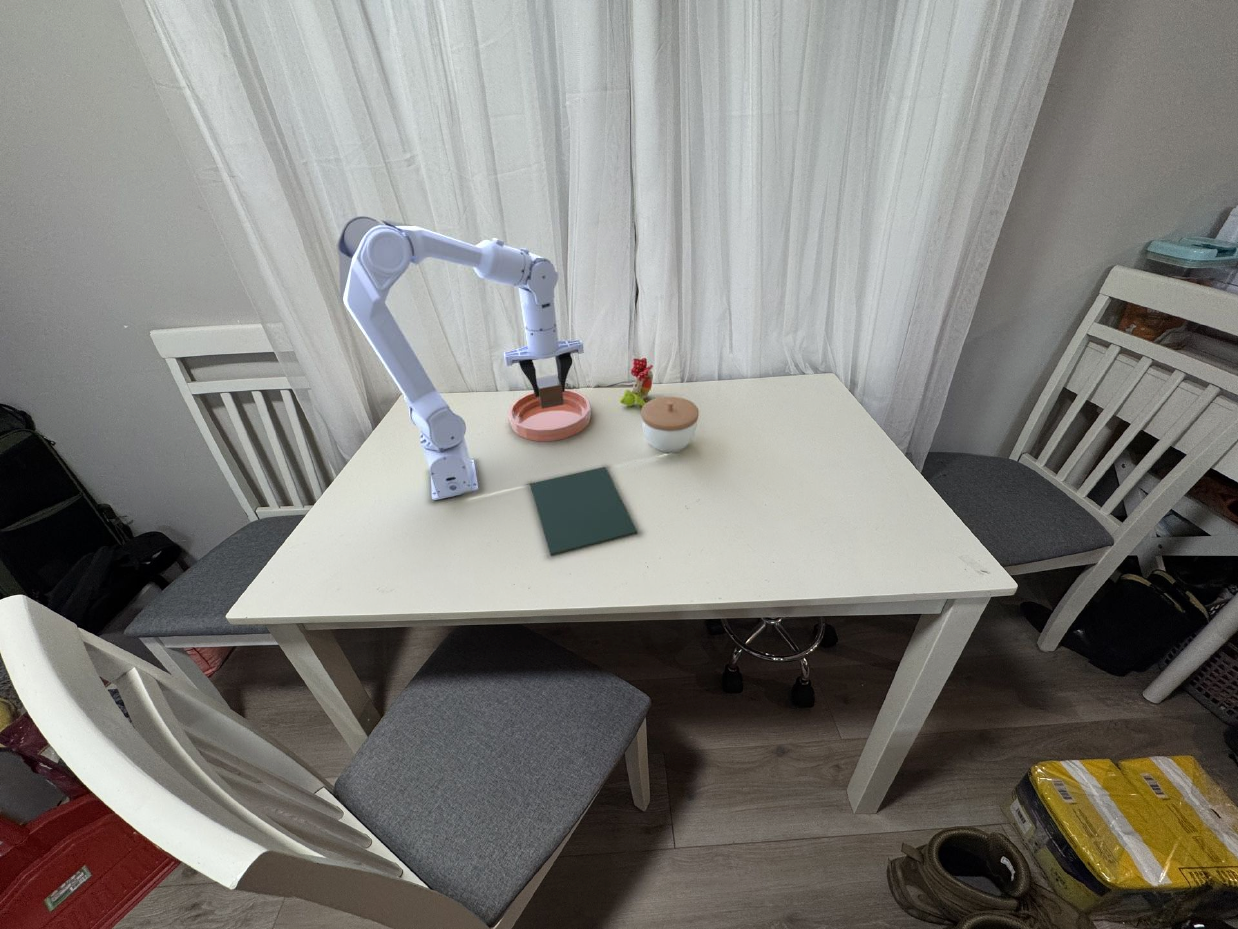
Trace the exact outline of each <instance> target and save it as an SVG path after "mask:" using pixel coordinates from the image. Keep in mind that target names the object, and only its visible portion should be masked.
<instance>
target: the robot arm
mask: <svg viewBox="0 0 1238 929" xmlns="http://www.w3.org/2000/svg"><path fill="white" fill-rule="evenodd" d="M381 222H382V223H380V222H379V221H378V220H377V219H374V218H372V217H369V216H366V215H359V216H355V217H353V218H351V219H349V220H348V221H347V222H346V223H345V224H344V225H343V228H342V231H341V232H340V235H339V238H338V240H337V242H336V250H337V255H338V261H339V262H338V263H339V264H338V265H339V295H340V299H341V301H342V303H343V304H344V306H345V307H346V309H347V311H348V312H349V314H350V315H351V317H352V318H353V320H354V321H355V323H356V324H357V326H358V327H359V329H360V330H361V333H362V334H363V335H364V336H365V338H366V340H367V341H368V343H369V345H370V346H371V348H372V349H373V351H374V352H375V353H376V355H377V357H378V358H379V359H380V361H381V362H382V365H383V366H384V367H385V369H386V371H387V372H388V373H389V375H390V376H391V379H392V380H393V381H394V383H395V384H396V386H397V387H398V389H399V391H400V392H401V394H402V395H403V396H404V402H405V403H406V405H407V407H408V415H409V419H410V421H411V422H412V424H413V425H414V426H416V427H417V428H418V429H419V431H420V434H419V442H420V444H421V448H422V451H423V454H424V457H425V460H426V463H427V466H428V469H429V475H430V487H431V500H432V501H439V500H443V499H448V498H451V497H455V496H460V495H462V494H465V493H470V492H474V491H477V490H479V483H478V477H477V472H476V471H477V470H476V465H475V464H476V463H475V460H474V459H471V456H470V454H469V450H468V446H467V443H466V437H465V435H466V432H467V425H466V421H465V419H464V418H463V417H462V416H461V415H459V414H457V413H456V412H455V411H453V409H451V407H450V406H449V404H448V402H447V401H445V399H444V398H443V396H442V395H441V393H439V392H438V389H436V387H435V385H434V383H433V382H432V381H431V379H430V376H429V375H428V373H427V372H426V370H425V368H424V367H423V365H422V362H421V361H420V360H419V358H418V356H417V355H416V353H415V352H414V350H413V348H412V346H411V345H410V342H408V340H407V337H406V336H405V334H404V333H403V331H402V329H401V328H400V326H399V324H398V323H397V321H396V319H395V317H394V316H393V314H392V313H391V311H390V308H389V307H388V306H387V303H386V300H387V297H388V296H389V293H390V291H391V289H392V287H393V286H394V285H395V284H396V282H398V281H399V279H400V278H401V277H402V276H403V275H404V273H405V272H406V271H407V270H408V268H409V266H410V264H413V265H415V266H418V265H419V264H421V263H422V262H424V261H425V260H426V259H427V258H432V259H436V260H441V261H445V262H450V263H454V264H458V265H463V266H466V267H467V266H468V267H471V268H472V269H473V270H474V271H475V273H476V275H477V276H478V277H479V278H480V279H483V280H487V281H490V282H491V281H492V282H495V283H499V284H503V285H507V286H511V287H518V293H519V300H520V305H521V312H522V319H523V325H524V333H525V340H526V345H525V346H522V347H519V348H516V349H512V350H509V351H503V357H504V358H503V359H504V362H505V366H506V367H512V366H513V365H514V364H518V365H519V367H520V369H521V372H522V373H523V374H524V376H525V377H526V378H527V380H528V381H529V383H530V385H531V387H532V390H533V392H534V394H535V396H536V397H539V390H538V386H537V380H536V378H537V371H536V367H535V364H534V361H537V360H547V359H551V358H554V359H555V365H556V370H557V372H556V373H557V377H558V378H559V380H560V382H561V384H562V392H565V389H566V383H567V377H568V374H569V372H570V369H571V367H572V365H573V357H572V354H578V355H580V354H581V355H582V354H584V353H585V351H584V343H583V341H582V340H581V339H575V340H559V334H558V325H557V316H556V306H555V299H554V298H555V288H556V286H557V284H558V280H559V272H558V271H556V269H555V266H554V264H553V263H551V262H552V261H551V260H549V259H548V258H546V257H542V256H540V255H537V254H535V253H532V252H530V249H528V248H524V247H520V249H518V248H516V247H515V248H514V247H511V246H509V245H505V241H504V240H501V239H499V238H496V237H493V238H492V240H490V239H484V240H482V241H481V242H479V243H478V244H476V245H474V244H471V243H468V242H466V241H462V240H459V239H457V238H453V237H451V236H448V235H444V234H441V233H438V232H434V231H431V230H429V229H426V228H423V227H420V226H416V225H413V224H407V223H402V222H397V221H392V220H385V219H381Z"/></svg>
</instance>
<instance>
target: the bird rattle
mask: <svg viewBox="0 0 1238 929" xmlns="http://www.w3.org/2000/svg"><path fill="white" fill-rule="evenodd" d="M632 363H633V364H632V366H633V367H632V368H631V369H630V373H631V376H633V377H635V380H634V383H633V386H632V390H629V389H626V390H625V391H624V394H623V396H622V397H621V398H620V400H619V402H620V404H623V405H624V406H627V407H633V406H634V405H635V404H637V405H639V406H640V407H641V408H642V407H643V406H644V405H645V404H646V403H647V402H646V401H645V400H646V399H647V398H648V395H649V392H650V391H651V389H652V385H653V379H654V374H653V372H652V370H651V369H652V368H653V367H654V365H653V364H650V365H649V366H648V359H647V358H646V357H643V358H641V359H639V358H633V359H632Z"/></svg>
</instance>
